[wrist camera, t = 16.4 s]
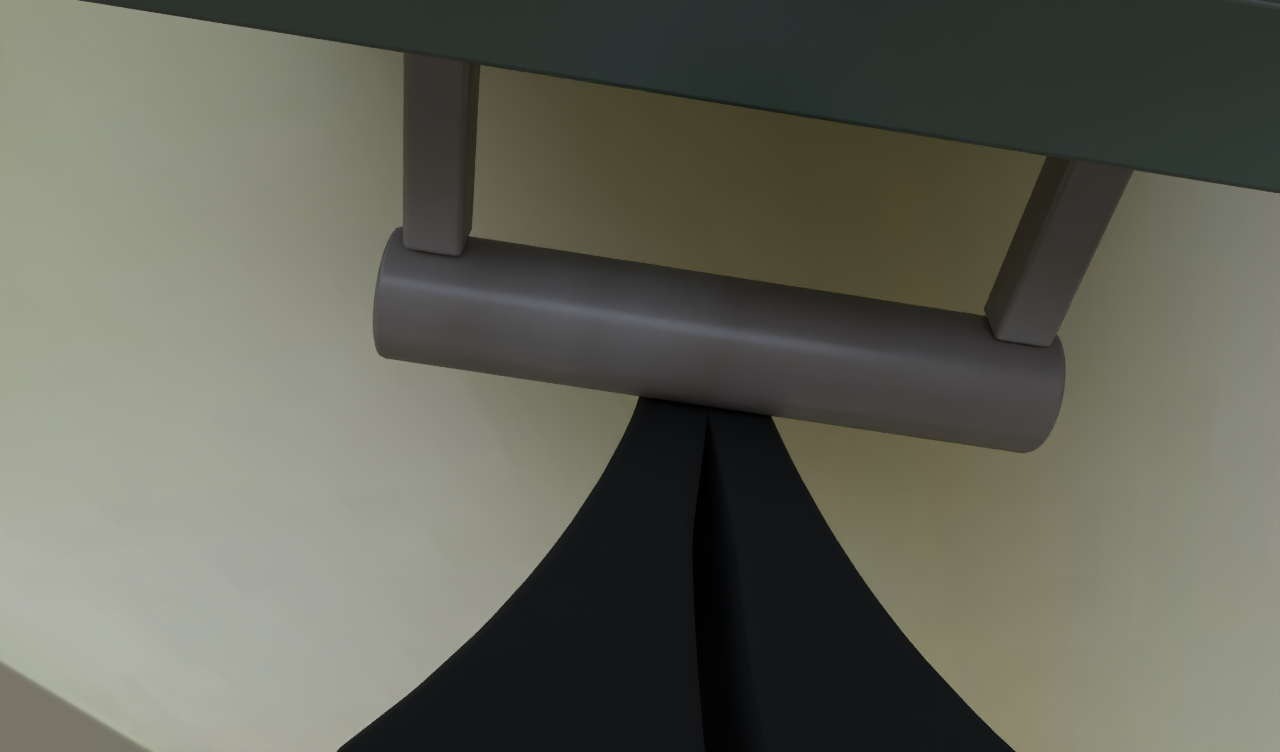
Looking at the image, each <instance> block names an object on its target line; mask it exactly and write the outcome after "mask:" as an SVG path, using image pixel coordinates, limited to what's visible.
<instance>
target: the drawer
mask: <svg viewBox="0 0 1280 752" xmlns="http://www.w3.org/2000/svg"><path fill="white" fill-rule="evenodd" d="M80 1H86V2H93V3H99V4H105V5H111V6H117V7H124V8H130V9H136V10H142V11H149V12H155V13H161V14H167V15H173V16H180V17H186V18H192V19H198V20H204V21H211V22H217V23H223V24H229V25H236V26H242V27H248V28H254V29H260V30H267V31H273V32H279V33H285V34H292V35H298V36H304V37H310V38H316V39H323V40H329V41H335V42H341V43H347V44H354V45H360V46H366V47H372V48H379V49H385V50H391V51H397V52H403V53H404V117H403V226H402V227H398V228H396V229H395V230H394V231H393V232H392V234H391V236H390V238H389V240H388V242H387V244H386V247H385V249H384V252H383V255H382V259H381V263H380V267H379V271H378V276H377V282H376V288H375V296H374V307H373V335H374V342H375V347H376V350H377V352H378V354H379V355H380V356H382V357H384V358H386V359H392V360H399V361H406V362H413V363H419V364H426V365H433V366H439V367H446V368H453V369H460V370H466V371H473V372H480V373H487V374H493V375H500V376H507V377H513V378H520V379H527V380H534V381H540V382H547V383H554V384H560V385H567V386H574V387H581V388H587V389H594V390H601V391H607V392H614V393H621V394H628V395H634V396H641V397H648V398H655V399H661V400H668V401H675V402H681V403H688V404H695V405H702V406H708V407H715V408H722V409H728V410H735V411H742V412H749V413H755V414H762V415H769V416H775V417H782V418H789V419H796V420H802V421H809V422H816V423H823V424H829V425H836V426H843V427H849V428H856V429H863V430H870V431H876V432H883V433H890V434H896V435H903V436H910V437H917V438H923V439H930V440H937V441H943V442H950V443H957V444H964V445H970V446H977V447H984V448H991V449H997V450H1004V451H1011V452H1017V453H1027V452H1031V451H1034V450H1036V449H1037V448H1039V447H1040V446H1041V445H1042V444H1043V443H1044V441H1045V440H1046V439H1047V437H1048V436H1049V434H1050V432H1051V430H1052V429H1053V426H1054V424H1055V422H1056V419H1057V416H1058V413H1059V410H1060V407H1061V403H1062V398H1063V392H1064V385H1065V356H1064V351H1063V347H1062V343H1061V341H1060V338H1059V336H1058V335H1057V331H1058V329H1059V327H1060V325H1061V323H1062V321H1063V318H1064V316H1065V314H1066V312H1067V310H1068V308H1069V306H1070V304H1071V302H1072V299H1073V297H1074V295H1075V293H1076V291H1077V289H1078V287H1079V285H1080V282H1081V280H1082V278H1083V276H1084V274H1085V272H1086V270H1087V268H1088V266H1089V263H1090V261H1091V259H1092V257H1093V255H1094V253H1095V251H1096V249H1097V246H1098V244H1099V242H1100V240H1101V238H1102V236H1103V234H1104V232H1105V230H1106V227H1107V225H1108V223H1109V221H1110V219H1111V217H1112V215H1113V213H1114V210H1115V208H1116V206H1117V204H1118V202H1119V200H1120V198H1121V196H1122V194H1123V191H1124V189H1125V187H1126V185H1127V183H1128V181H1129V179H1130V177H1131V174H1132V172H1133V170H1137V171H1143V172H1149V173H1155V174H1162V175H1168V176H1174V177H1180V178H1187V179H1193V180H1199V181H1205V182H1211V183H1218V184H1224V185H1230V186H1236V187H1242V188H1249V189H1255V190H1261V191H1267V192H1274V193H1280V0H80ZM480 65H484V66H490V67H497V68H503V69H509V70H515V71H521V72H528V73H534V74H540V75H546V76H553V77H559V78H565V79H571V80H577V81H584V82H590V83H596V84H602V85H609V86H615V87H621V88H627V89H633V90H640V91H646V92H652V93H658V94H664V95H671V96H677V97H683V98H689V99H696V100H702V101H708V102H714V103H720V104H727V105H733V106H739V107H745V108H751V109H758V110H764V111H770V112H776V113H783V114H789V115H795V116H801V117H807V118H814V119H820V120H826V121H832V122H838V123H845V124H851V125H857V126H863V127H870V128H876V129H882V130H888V131H894V132H901V133H907V134H913V135H919V136H926V137H932V138H938V139H944V140H950V141H957V142H963V143H969V144H975V145H981V146H988V147H994V148H1000V149H1006V150H1013V151H1019V152H1025V153H1031V154H1037V155H1044V156H1047V157H1046V159H1045V162H1044V164H1043V167H1042V169H1041V172H1040V174H1039V176H1038V179H1037V181H1036V184H1035V186H1034V188H1033V191H1032V193H1031V196H1030V198H1029V201H1028V203H1027V205H1026V208H1025V210H1024V213H1023V215H1022V218H1021V220H1020V222H1019V225H1018V227H1017V230H1016V232H1015V234H1014V237H1013V239H1012V242H1011V244H1010V247H1009V249H1008V251H1007V254H1006V256H1005V259H1004V261H1003V264H1002V266H1001V268H1000V271H999V273H998V276H997V278H996V280H995V283H994V285H993V288H992V290H991V293H990V295H989V297H988V300H987V302H986V305H985V307H984V312H985V314H986V316H984V315H978V314H971V313H965V312H958V311H952V310H945V309H939V308H932V307H926V306H919V305H913V304H906V303H900V302H893V301H887V300H880V299H874V298H867V297H861V296H854V295H848V294H841V293H835V292H828V291H822V290H815V289H809V288H802V287H796V286H789V285H783V284H776V283H770V282H763V281H757V280H750V279H744V278H737V277H731V276H724V275H718V274H712V273H705V272H699V271H692V270H686V269H679V268H673V267H666V266H660V265H653V264H647V263H640V262H634V261H627V260H621V259H614V258H608V257H601V256H595V255H588V254H582V253H575V252H569V251H562V250H556V249H549V248H543V247H536V246H530V245H523V244H517V243H510V242H504V241H497V240H491V239H484V238H478V237H471V236H469V235H470V232H471V230H472V218H473V198H474V178H475V158H476V138H477V118H478V98H479V78H480Z"/></svg>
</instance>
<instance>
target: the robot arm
mask: <svg viewBox="0 0 1280 752" xmlns="http://www.w3.org/2000/svg"><path fill="white" fill-rule="evenodd" d="M337 752H1015V751H1014V750H1013V749H1012V748H1011V747H1010V746H1009V745H1008V744H1007V743H1006V742H1005V741H1004V740H1002V739H1001V738H1000V737H999V736H998V735H997V734H996V733H995V732H994V731H993V730H992V729H991V728H990V727H989V726H988V725H987V724H986V723H985V722H984V721H983V720H982V719H981V718H980V717H979V716H978V715H977V714H976V713H975V712H974V711H973V710H972V709H971V708H970V707H969V706H968V705H967V704H966V703H965V702H964V700H963V699H962V698H961V697H960V696H959V695H958V694H957V693H956V692H955V691H954V690H953V689H952V688H951V686H950V685H949V684H948V683H947V682H946V681H945V680H944V679H943V678H942V677H941V676H940V675H939V674H938V672H937V671H936V670H935V669H934V668H933V667H932V666H931V665H930V664H929V663H928V662H927V661H926V660H925V659H924V657H923V656H922V655H921V654H920V653H919V651H918V650H917V649H916V648H915V647H914V645H913V644H912V643H911V642H910V641H909V639H908V638H907V637H906V636H905V635H904V633H903V632H902V631H901V630H900V628H899V627H898V626H897V624H896V623H895V622H894V620H893V619H892V618H891V617H890V615H889V614H888V613H887V611H886V610H885V609H884V608H883V606H882V605H881V604H880V602H879V601H878V600H877V598H876V597H875V595H874V594H873V593H872V591H871V590H870V588H869V587H868V586H867V584H866V583H865V581H864V580H863V578H862V577H861V576H860V574H859V573H858V571H857V570H856V568H855V567H854V565H853V564H852V562H851V561H850V559H849V558H848V556H847V554H846V553H845V551H844V550H843V548H842V547H841V545H840V544H839V542H838V541H837V539H836V537H835V536H834V534H833V532H832V531H831V529H830V528H829V526H828V524H827V523H826V521H825V519H824V518H823V516H822V514H821V512H820V511H819V509H818V507H817V505H816V503H815V502H814V500H813V498H812V496H811V494H810V493H809V491H808V489H807V487H806V486H805V484H804V482H803V480H802V478H801V476H800V475H799V473H798V471H797V469H796V467H795V465H794V463H793V461H792V459H791V457H790V455H789V453H788V451H787V449H786V447H785V445H784V443H783V441H782V439H781V436H780V434H779V432H778V430H777V428H776V426H775V423H774V421H773V419H772V417H771V416H769V415H762V414H755V413H749V412H742V411H735V410H728V409H722V408H715V407H708V406H702V405H695V404H688V403H681V402H675V401H668V400H661V399H655V398H648V397H641V396H639V399H638V402H637V405H636V408H635V410H634V413H633V415H632V418H631V420H630V422H629V424H628V426H627V429H626V431H625V433H624V435H623V437H622V439H621V441H620V443H619V445H618V447H617V448H616V450H615V452H614V454H613V456H612V458H611V459H610V461H609V463H608V465H607V467H606V469H605V470H604V472H603V474H602V476H601V477H600V479H599V481H598V482H597V484H596V485H595V487H594V488H593V490H592V491H591V493H590V494H589V496H588V497H587V499H586V500H585V502H584V503H583V505H582V507H581V508H580V510H579V511H578V513H577V514H576V516H575V517H574V519H573V520H572V522H571V523H570V524H569V526H568V527H567V529H566V530H565V531H564V533H563V534H562V535H561V537H560V538H559V539H558V541H557V542H556V543H555V545H554V546H553V547H552V549H551V550H550V551H549V552H548V554H547V555H546V556H545V557H544V559H543V560H542V561H541V562H540V563H539V565H538V566H537V567H536V568H535V570H534V571H533V572H532V573H531V574H530V576H529V577H528V578H527V579H526V580H525V581H524V583H523V584H522V585H521V586H520V587H519V588H518V589H517V590H516V591H515V592H514V594H513V595H512V596H511V597H510V598H509V599H508V600H507V601H506V602H505V604H504V605H503V606H502V607H501V608H500V609H499V610H498V611H497V612H496V613H495V614H494V615H493V616H492V618H491V619H490V620H489V621H488V622H487V623H486V624H485V625H484V626H483V627H482V628H481V629H480V630H479V631H478V632H477V633H476V634H475V635H474V636H473V637H472V638H470V639H469V640H468V641H467V642H466V643H465V644H464V645H463V646H462V647H461V648H460V649H458V650H457V651H456V652H455V653H454V654H453V655H452V656H451V657H450V658H449V659H448V660H446V661H445V662H444V663H443V664H442V665H441V666H440V667H439V668H438V669H437V670H436V671H435V672H433V673H432V674H431V675H430V676H429V677H428V678H427V679H426V680H425V681H424V682H422V683H421V684H420V685H419V686H418V687H417V688H415V689H414V690H413V691H412V692H411V693H409V694H408V695H407V696H406V697H404V698H403V699H402V700H401V701H399V702H398V703H397V704H395V705H394V706H393V707H392V708H390V709H389V710H388V711H386V712H385V713H384V714H383V715H381V716H380V717H379V718H377V719H376V720H375V721H374V722H372V723H371V724H370V725H368V726H367V727H366V728H365V729H363V730H362V731H361V732H359V733H358V734H357V735H356V736H354V737H353V738H352V739H350V740H349V741H348V742H347V743H345V744H344V745H343V746H341V747H340V748H339V749H338V751H337Z"/></svg>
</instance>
